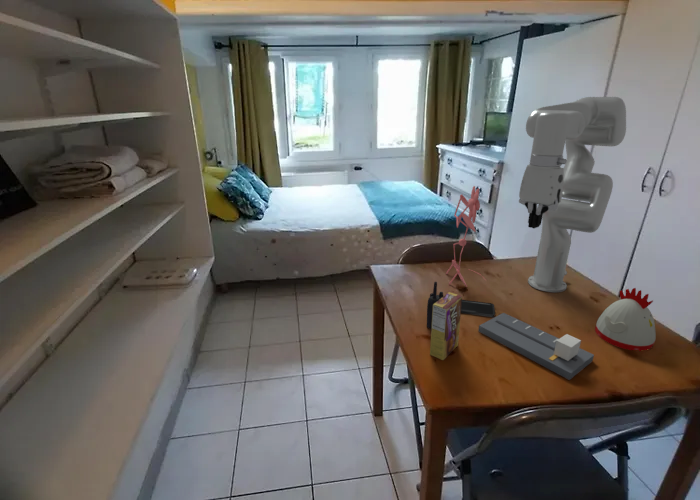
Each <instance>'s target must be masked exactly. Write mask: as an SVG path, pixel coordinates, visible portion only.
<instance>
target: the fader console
mask: <svg viewBox="0 0 700 500" xmlns="http://www.w3.org/2000/svg"><path fill="white" fill-rule="evenodd" d="M477 331H478V333H480V334H481V335H482V334H483V335H484V336H487V338H490V339H492V340H494V341H495V342H497V343H499V344H501V345H503V346H505V347H507V348H509V349H510V350H513V351H514V352H516V353H518V354H519V355H522V356H523V357H525V358H527V359H529V360H531V361H532V362H535V363H537V364H538V365H540V366H543V367H545V368H546V369H548V370H550V371H552V372H554V373H556V374H557V375H559V376H561V377H563V378H564V379H567V380H569V381H570V380H572V379H573V378H574V377H575V376H576V375H578V374H579V373H581V371H582V370H584V368H587V366H589V365H590V364H591V363H592V362H593V361H594V357H595V354H594V353H592V352H590V351H587V350H585V349H583V348H581V347H579V351H578V354H577V355H575V356H574V357H573V358H571V359H570V360H569V361H567V360H565V359H563V358H561V357H559V356H557V355H555V354H554V351H555V346H556V342H557V340H558V339H560V338H559V337H557V336H555V335H552V334H550V333H548V332H546V331H544V330H541V329H540V328H537V327H535V326H533V325H532V324H529V323H527V322H525V321H522V320H520V319H518V318H516V317H514V316H511V315H509V314H507V313H505V312H502V313H500V314H498V315H497V316H496V315H495V316H494V317H492V318H491V319H489V320H486V321H485V322H483V323H481V324H479V325H478V330H477Z"/></svg>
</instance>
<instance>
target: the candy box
mask: <svg viewBox="0 0 700 500" xmlns="http://www.w3.org/2000/svg"><path fill="white" fill-rule="evenodd" d="M462 300H463V296H462V295H460V294H457V293H453V292H451V291H449V292H447V293H446V294H444V295H443V297H442V298H441V299H440V300H438V301H437V302H436V303H435V304H433V312H432V328H431V329H430V330H431V331H430V347H429V348H430V349H429V355H430V356H432V357H435V358H437V359H439V360H441V361H444V360H445V359H446V358H447V357H448V356H449V355H450V354H451V353H452V352H453V351H454V350H455V349H456V347H458V346H459V341H460V340H459V338H460V337H459V335H460V328H461V327H460V325H461V314H462V313H461V303H462Z"/></svg>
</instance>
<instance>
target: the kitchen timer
mask: <svg viewBox="0 0 700 500" xmlns="http://www.w3.org/2000/svg"><path fill="white" fill-rule="evenodd" d="M649 294H650V293H646V294H644V296H643V297H642V289H640V290H638V291H637V289H636V287H634V288H632V289H631V291H630V289H629V288H627V289H625V294H624V291H623V290H619V297H620V299H618V300H616V301H614V302H613V303H611V304H610V305H608V307H606V308H605V310H603V312H602V313H601V315H599V317H598V318H597V321H596V324H595V328H594V331H595V333H596V335H597V337H599V338H600V339H601V340H603V341H604V342H606V343H608V344H610V345H613V346H615V347H617V348H621V349H623V350H627V349H628V351H632V350H639V351H638V352H642V351H641V350H647V349H649V350H651V349H652V348H653V347H654V346H655V342H656V338H657V337H656V336H657V335H656V325H655V324H656V323H655V319H654V316H653V313H652V311H651V310H650V309H649V305H651V304H652V303H653V302H654V300H650V301H648V298H649ZM653 345H654V346H653ZM652 346H653V347H652ZM651 347H652V348H651ZM650 348H651V349H650ZM647 351H648V350H647Z"/></svg>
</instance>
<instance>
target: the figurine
mask: <svg viewBox="0 0 700 500" xmlns="http://www.w3.org/2000/svg"><path fill="white" fill-rule="evenodd" d="M471 189H472V190H471V193H470V198H469V199H467V198H466V197H465V196H464V195H463V194H460V196H459V199H458V202H457V205H456V208H455V211H454V217H455V220H456V228H457V229H458V228H459V225H460V223H461V224H462V225H464V226H465V227H466V228H465V229H466V230H465V234H464V237H463V238H461V239H459V241H458V242H455V243H453V256H454V257H453V258H454V259H452V260H451V265H450V266H449V268H448V270H447V271H446V272H445V275H448V273H449V272H450V270H451V269H452V268H453V267H454V268H455V270H456V273H455V274H454V276H453V277H452V279H451V280H450V281H449V282H448V285H451V284H452V283H453V281H454V280H455V278H456V277H457V276H458V277H459V278H460V281H461V282H462V284H463V285H464V286H465V287H466V288H467V287H468V285H467V283H466V280H465V279H464V276H463V275H462V274H461V259H462V253H463V251H464V247H465V246H466V245H467V239H466V237H467V233H468V230H469V229H470V230H471V231H473V232H474V233H477V232H476V231H477V230H476V228H475V222H476V220H477V211H479V210H480V208H481V204H480V201H479V196H480V195H479V194H480V188H479V187H478V188H477V189H476V186H475V185H473V187H472V188H471ZM461 202H462V203H463V204H464V206H465V208H464V209H463V211H461V212H460V214H459V216H457V212H458V209H459V206H460V204H461ZM467 209H469V211H468V215H467V214H466V213H465V211H467ZM462 220H463V221H462ZM456 245H459V246H461V247H462V248H461V251H460V253H459V263H457V261H456V249H455V248H456ZM468 270H469V271H473V272H474V273H476V274H478V275H480V276H481V277H482V278H483V280H485V281H488V279H487V278H485V277H484V276H482V275H481V273H480V272H477V271H474V270H472V269H469V268H468ZM485 286H487V284H486V285H485ZM453 292H455V291H453V290H451V293H453Z"/></svg>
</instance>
